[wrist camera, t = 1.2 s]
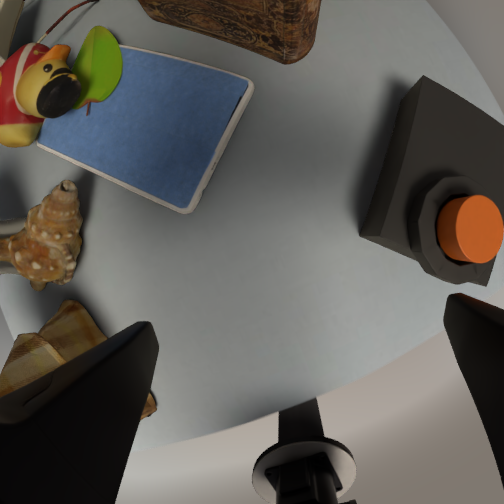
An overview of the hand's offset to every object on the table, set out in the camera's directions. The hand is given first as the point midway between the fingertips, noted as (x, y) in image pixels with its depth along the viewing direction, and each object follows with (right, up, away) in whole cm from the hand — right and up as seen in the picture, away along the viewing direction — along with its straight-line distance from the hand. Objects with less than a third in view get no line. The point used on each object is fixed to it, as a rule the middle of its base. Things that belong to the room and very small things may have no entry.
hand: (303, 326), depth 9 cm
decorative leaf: (-16, +18, +12) cm, 27 cm away
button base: (+14, +8, +15) cm, 22 cm away
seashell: (-20, +3, +18) cm, 27 cm away
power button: (+12, +4, +9) cm, 15 cm away
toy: (-26, +18, +13) cm, 34 cm away
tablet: (-12, +14, +17) cm, 25 cm away
